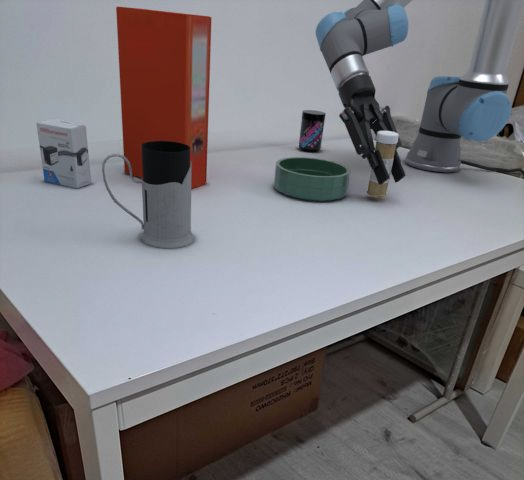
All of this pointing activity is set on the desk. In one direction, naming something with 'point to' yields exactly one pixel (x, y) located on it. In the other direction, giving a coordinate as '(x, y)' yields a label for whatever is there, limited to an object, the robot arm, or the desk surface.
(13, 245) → the desk surface
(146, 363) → the desk surface
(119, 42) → the file binder
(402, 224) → the desk surface
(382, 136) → the sprinkles bottle
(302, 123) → the supplement container
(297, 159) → the bowl
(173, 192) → the glass holder
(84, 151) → the ink box
